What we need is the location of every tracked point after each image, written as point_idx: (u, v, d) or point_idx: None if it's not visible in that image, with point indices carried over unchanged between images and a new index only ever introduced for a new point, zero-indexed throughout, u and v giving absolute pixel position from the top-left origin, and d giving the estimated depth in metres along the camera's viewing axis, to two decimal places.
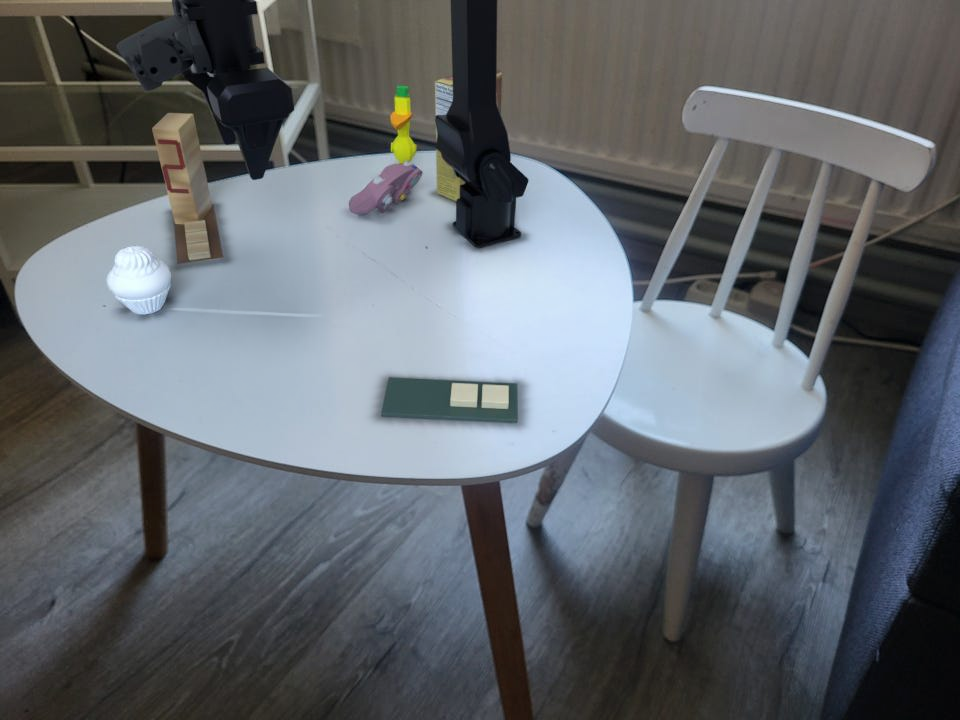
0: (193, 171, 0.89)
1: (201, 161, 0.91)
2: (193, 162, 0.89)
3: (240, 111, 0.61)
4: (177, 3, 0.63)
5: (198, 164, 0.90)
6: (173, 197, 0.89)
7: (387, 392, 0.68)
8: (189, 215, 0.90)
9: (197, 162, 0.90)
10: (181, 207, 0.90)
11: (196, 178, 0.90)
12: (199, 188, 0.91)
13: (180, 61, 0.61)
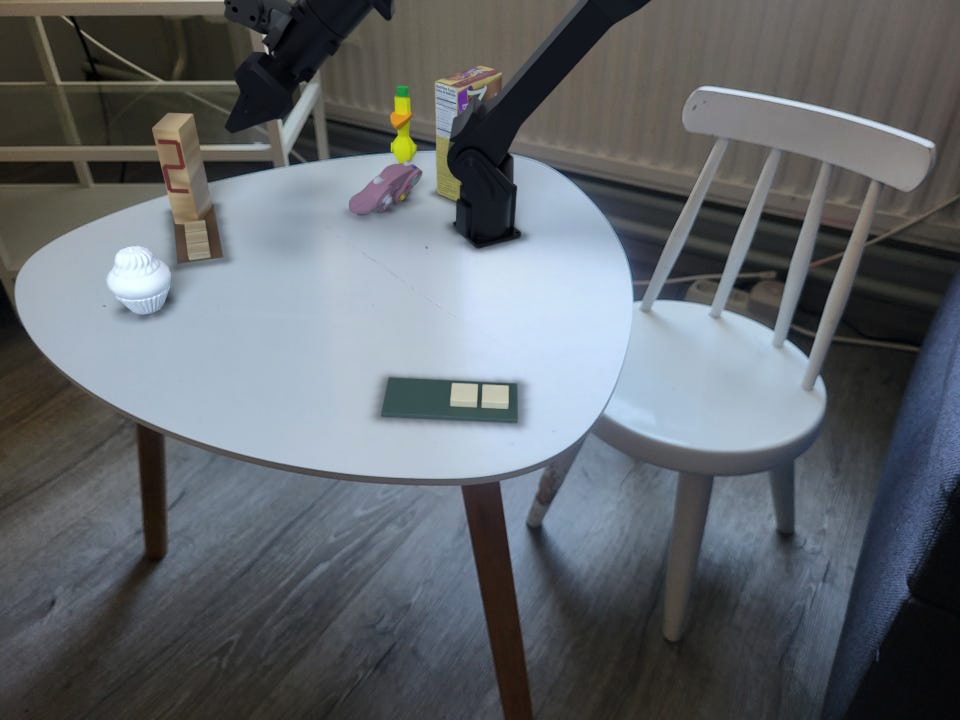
0: (193, 171, 0.89)
1: (201, 161, 0.91)
2: (193, 162, 0.89)
3: (248, 82, 0.73)
4: (299, 0, 0.78)
5: (198, 164, 0.90)
6: (173, 197, 0.89)
7: (387, 392, 0.68)
8: (189, 215, 0.90)
9: (197, 162, 0.90)
10: (181, 207, 0.90)
11: (196, 178, 0.90)
12: (199, 188, 0.91)
13: (255, 23, 0.75)
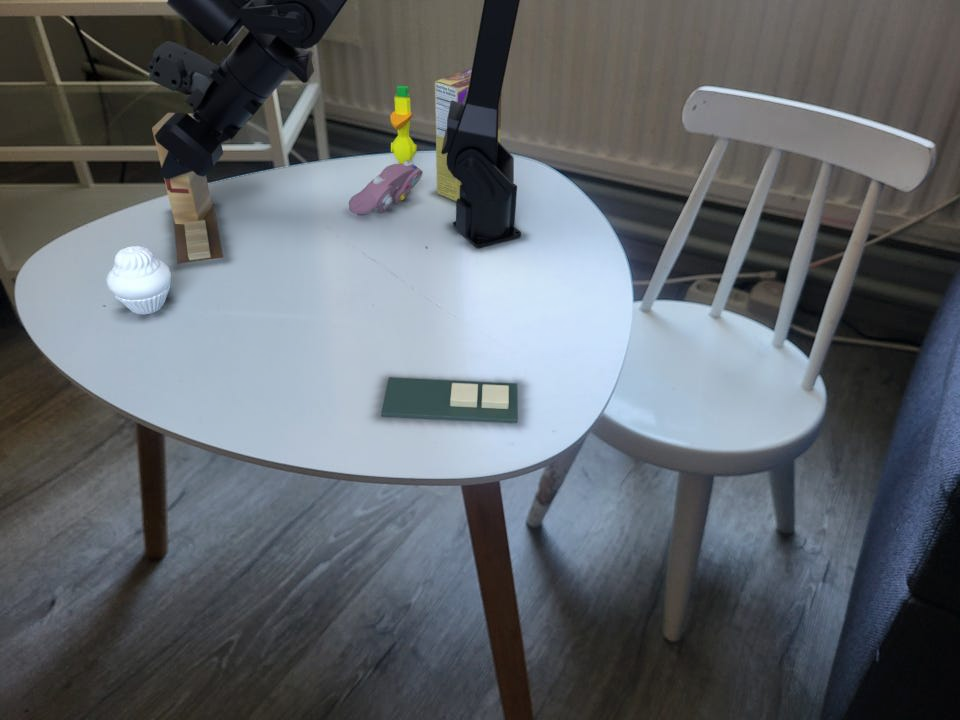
0: None
1: None
2: None
3: (169, 143, 0.78)
4: (222, 62, 0.83)
5: None
6: (173, 196, 0.89)
7: (387, 392, 0.68)
8: (189, 215, 0.90)
9: None
10: (181, 207, 0.90)
11: (196, 178, 0.90)
12: (199, 188, 0.91)
13: (177, 86, 0.79)
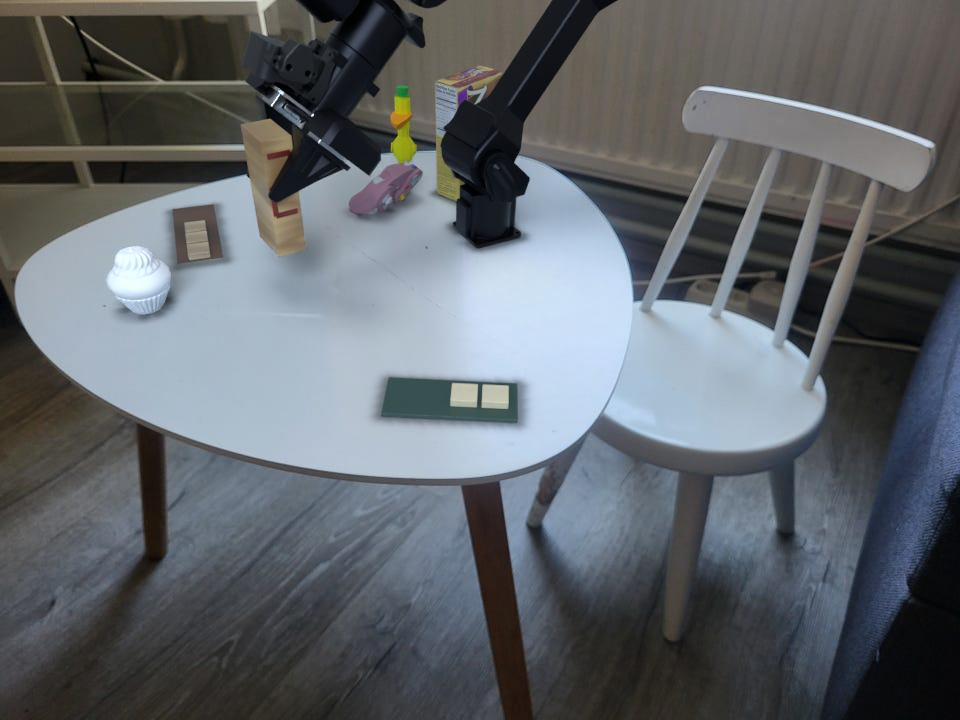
0: None
1: None
2: None
3: (341, 144, 0.65)
4: (318, 44, 0.69)
5: None
6: (279, 223, 0.73)
7: (387, 392, 0.68)
8: (296, 240, 0.75)
9: None
10: (287, 234, 0.74)
11: None
12: None
13: (311, 78, 0.65)
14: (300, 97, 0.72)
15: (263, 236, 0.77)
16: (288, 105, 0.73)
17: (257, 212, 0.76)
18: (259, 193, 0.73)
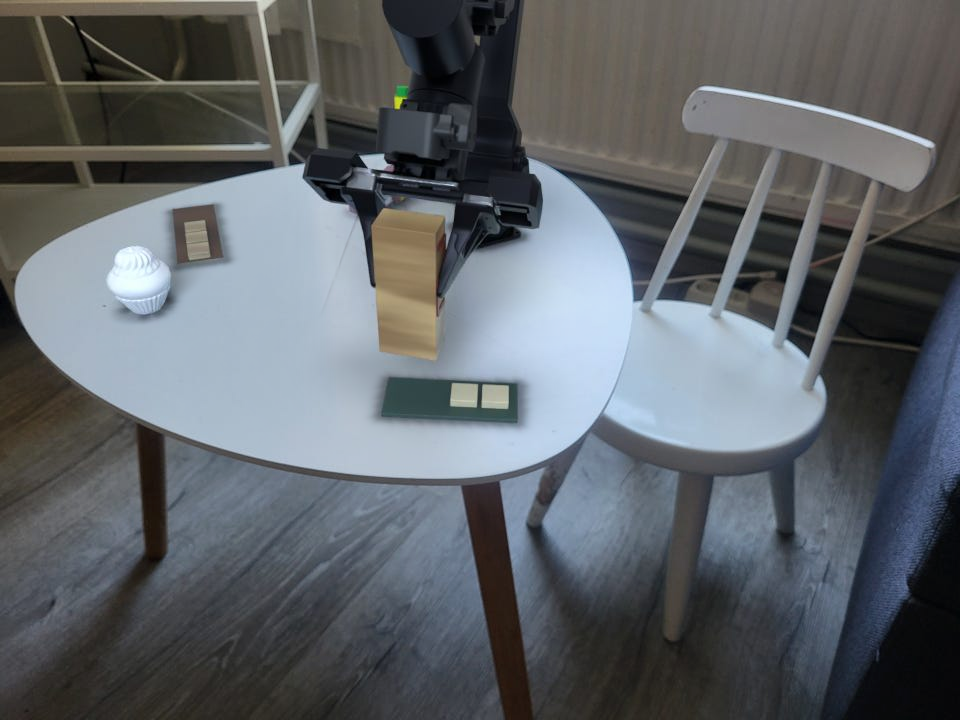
0: None
1: None
2: None
3: (538, 202, 0.57)
4: (418, 104, 0.58)
5: None
6: (437, 321, 0.61)
7: (387, 392, 0.68)
8: (442, 334, 0.63)
9: None
10: (439, 330, 0.62)
11: None
12: None
13: (474, 142, 0.55)
14: (401, 172, 0.59)
15: (394, 348, 0.63)
16: (382, 186, 0.60)
17: (385, 323, 0.61)
18: (404, 297, 0.59)
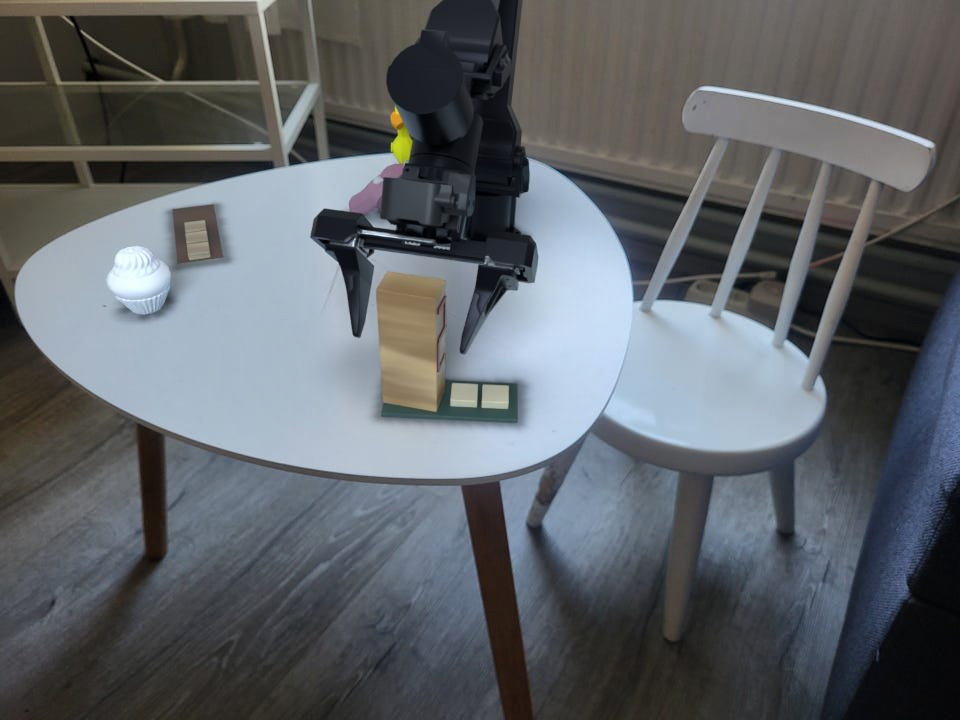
0: None
1: None
2: None
3: (533, 261, 0.60)
4: (420, 168, 0.61)
5: None
6: (438, 376, 0.64)
7: None
8: (442, 386, 0.67)
9: None
10: (440, 384, 0.66)
11: None
12: None
13: (473, 207, 0.59)
14: None
15: (396, 399, 0.66)
16: (364, 241, 0.63)
17: (388, 377, 0.65)
18: (407, 354, 0.63)
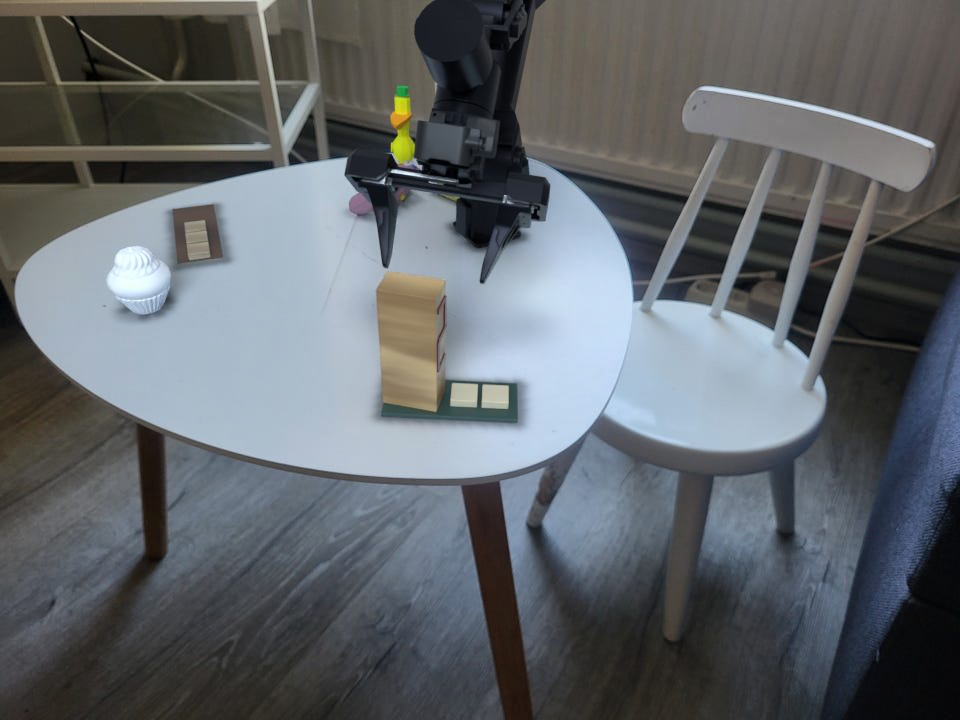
0: None
1: None
2: None
3: (547, 201, 0.68)
4: (445, 114, 0.67)
5: None
6: (438, 376, 0.64)
7: None
8: (442, 386, 0.67)
9: None
10: (440, 384, 0.66)
11: None
12: None
13: (496, 149, 0.65)
14: (429, 171, 0.69)
15: (396, 399, 0.66)
16: (392, 180, 0.69)
17: (388, 377, 0.65)
18: (407, 354, 0.63)
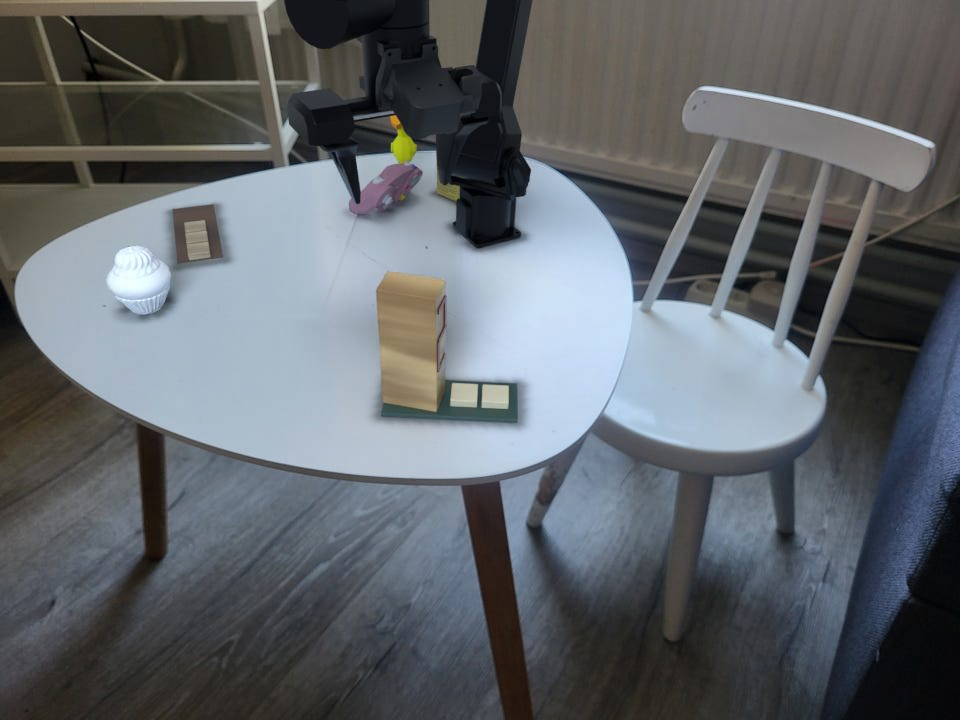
0: None
1: None
2: None
3: None
4: (399, 48, 0.61)
5: None
6: (438, 376, 0.64)
7: None
8: (442, 386, 0.67)
9: None
10: (440, 384, 0.66)
11: None
12: None
13: None
14: None
15: (396, 399, 0.66)
16: None
17: (388, 377, 0.65)
18: (407, 354, 0.63)
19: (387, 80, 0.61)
